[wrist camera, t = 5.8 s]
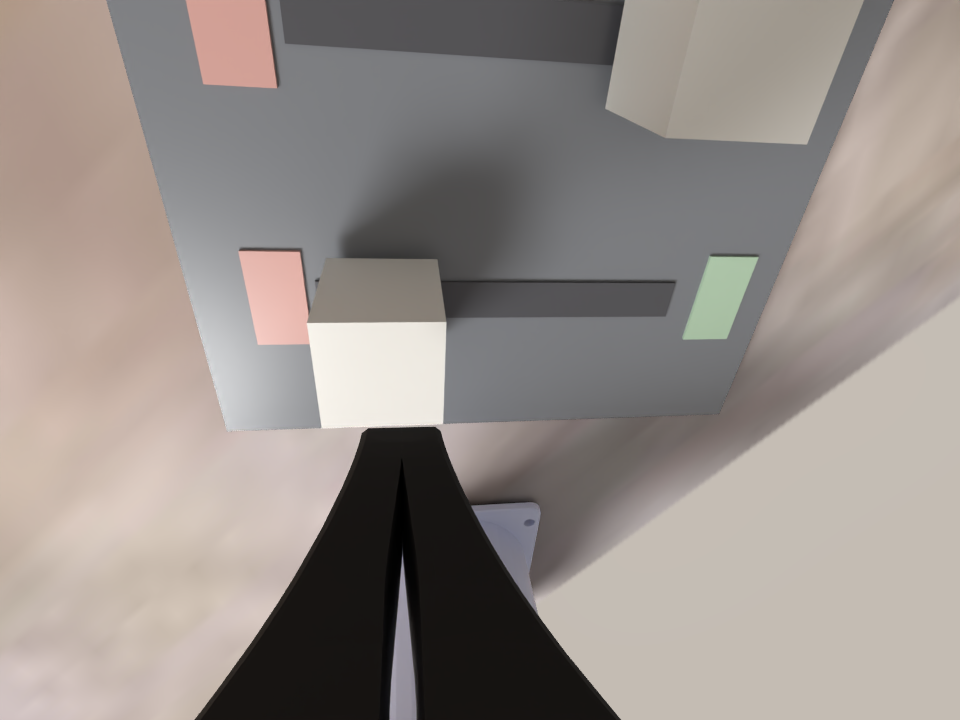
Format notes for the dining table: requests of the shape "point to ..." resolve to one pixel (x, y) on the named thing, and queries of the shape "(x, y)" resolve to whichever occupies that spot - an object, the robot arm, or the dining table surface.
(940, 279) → the dining table surface
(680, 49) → the cream cube box
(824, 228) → the dining table surface
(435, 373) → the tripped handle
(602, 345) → the board
